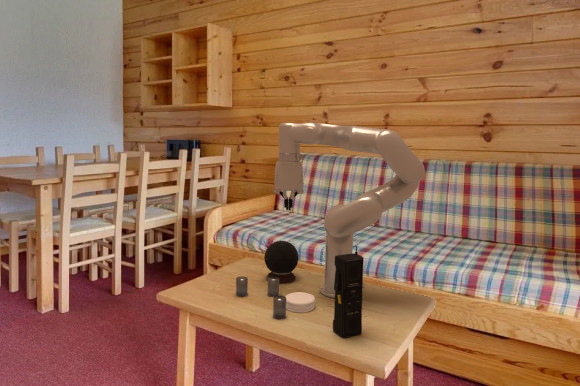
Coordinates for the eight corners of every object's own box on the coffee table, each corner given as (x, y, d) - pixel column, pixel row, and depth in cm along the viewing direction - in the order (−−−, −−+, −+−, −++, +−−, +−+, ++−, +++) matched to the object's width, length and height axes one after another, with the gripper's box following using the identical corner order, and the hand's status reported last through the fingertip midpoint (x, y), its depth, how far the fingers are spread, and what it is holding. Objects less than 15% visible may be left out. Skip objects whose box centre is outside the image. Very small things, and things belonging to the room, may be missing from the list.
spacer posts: (284, 292, 159) (284, 276, 158) (286, 319, 137) (286, 300, 136) (236, 292, 158) (236, 276, 158) (230, 319, 137) (230, 300, 136)
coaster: (291, 315, 141) (291, 304, 140) (280, 303, 150) (280, 293, 149) (320, 311, 145) (320, 300, 144) (307, 299, 154) (307, 290, 153)
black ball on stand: (284, 287, 165) (284, 247, 162) (257, 279, 173) (257, 241, 170) (304, 278, 175) (305, 240, 173) (278, 271, 183) (279, 235, 181)
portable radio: (340, 340, 125) (343, 252, 121) (328, 331, 130) (331, 247, 126) (363, 334, 128) (367, 249, 124) (351, 326, 133) (354, 244, 130)
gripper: (309, 157, 161) (308, 208, 164) (268, 157, 160) (267, 207, 163) (311, 159, 154) (310, 212, 156) (267, 158, 153) (267, 211, 156)
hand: (288, 209), depth 160 cm, fingers closed
